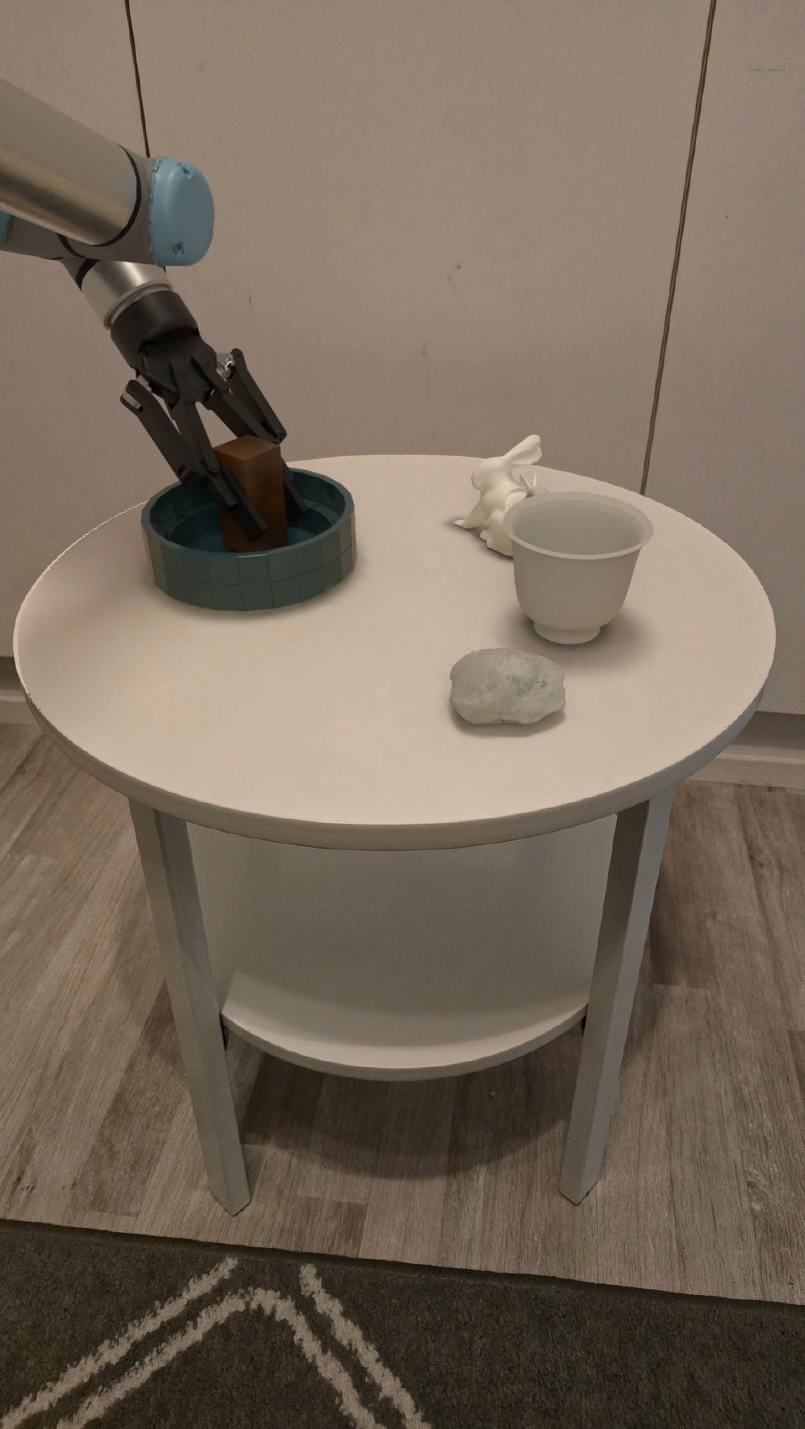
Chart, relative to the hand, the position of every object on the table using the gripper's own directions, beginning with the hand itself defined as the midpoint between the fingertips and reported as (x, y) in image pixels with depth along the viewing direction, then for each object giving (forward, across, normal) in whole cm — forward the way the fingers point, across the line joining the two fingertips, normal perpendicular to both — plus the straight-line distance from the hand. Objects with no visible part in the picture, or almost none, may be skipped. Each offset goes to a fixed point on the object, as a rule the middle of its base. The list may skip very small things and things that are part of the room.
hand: (279, 525), depth 92 cm
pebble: (+24, +5, +18) cm, 31 cm away
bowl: (+1, +2, -5) cm, 5 cm away
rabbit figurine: (+13, -19, +6) cm, 24 cm away
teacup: (+21, -9, +15) cm, 28 cm away
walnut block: (0, 0, -5) cm, 5 cm away
